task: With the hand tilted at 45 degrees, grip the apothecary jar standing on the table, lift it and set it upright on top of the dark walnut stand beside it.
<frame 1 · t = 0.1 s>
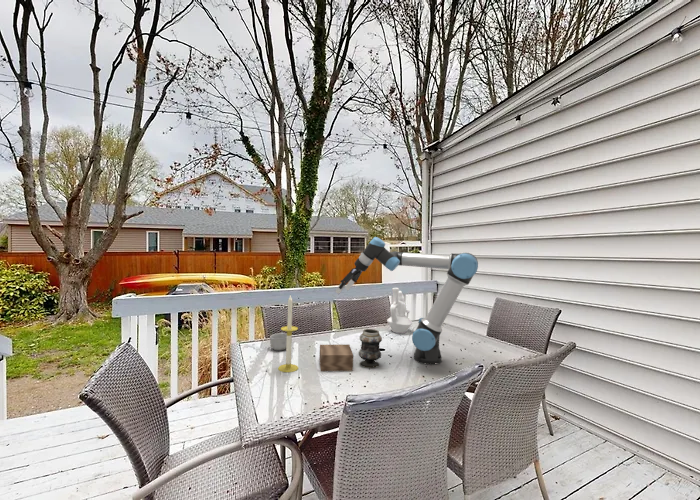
hand: (341, 291, 196), 36 cm above the table, tool tilted 35°, fingers open, 13 cm apart
white tall piece: (397, 332, 244), on the table
walnut stand: (335, 364, 180), on the table
rod with yellow discs: (288, 368, 173), on the table
apothecary jar: (369, 364, 183), on the table
teacup: (280, 348, 202), on the table
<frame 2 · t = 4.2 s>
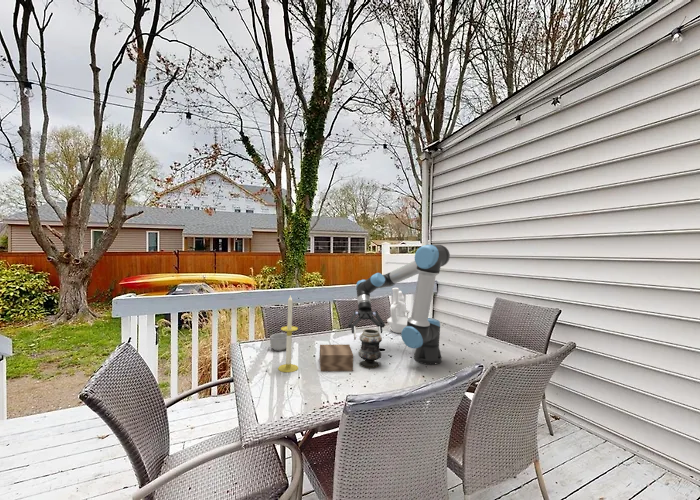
hand: (367, 338, 185), 13 cm above the table, tool tilted 45°, fingers open, 13 cm apart
apothecary jar: (369, 364, 183), on the table, touching gripper
everything else where it was.
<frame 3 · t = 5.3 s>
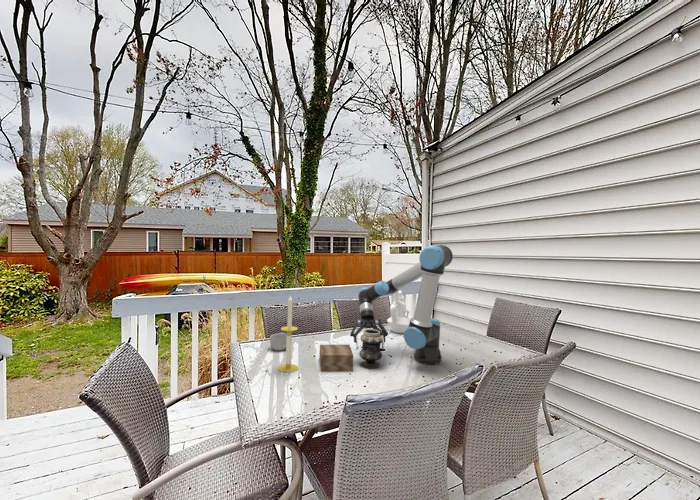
hand: (370, 348, 180), 9 cm above the table, tool tilted 45°, fingers open, 13 cm apart
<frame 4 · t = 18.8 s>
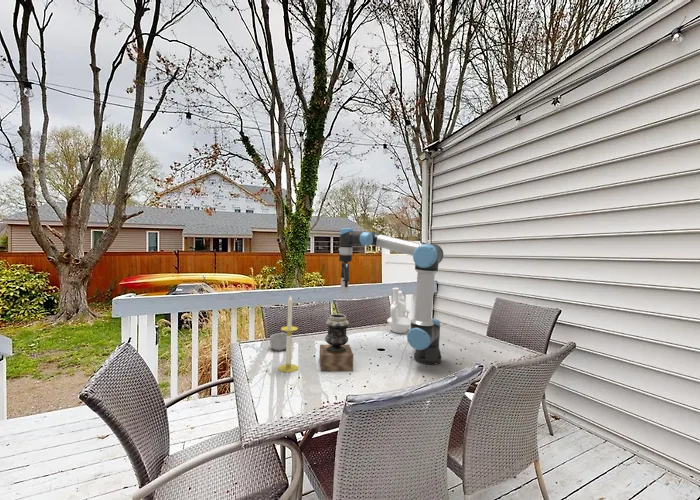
hand: (344, 290, 203), 35 cm above the table, tool pointing down, fingers open, 13 cm apart
apothecary jar: (336, 350, 180), point 8 cm above the table, touching walnut stand
everything else where it was.
at the end: apothecary jar inside the target area on the walnut stand (0.2 cm from its centre), point 7.8 cm above the walnut stand's base; apothecary jar tilted 0°; the gripper is holding nothing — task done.
